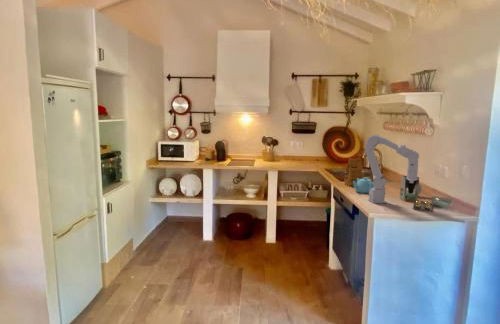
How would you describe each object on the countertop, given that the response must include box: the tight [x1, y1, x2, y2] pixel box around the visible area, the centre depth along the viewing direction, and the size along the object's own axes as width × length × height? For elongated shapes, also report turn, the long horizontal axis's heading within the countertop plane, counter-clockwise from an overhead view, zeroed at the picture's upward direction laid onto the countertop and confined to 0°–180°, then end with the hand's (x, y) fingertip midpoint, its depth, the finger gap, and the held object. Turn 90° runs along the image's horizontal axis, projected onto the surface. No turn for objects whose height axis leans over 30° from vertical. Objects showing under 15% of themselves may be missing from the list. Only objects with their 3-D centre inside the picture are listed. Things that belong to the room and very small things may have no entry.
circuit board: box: [404, 188, 418, 198], centre depth 205 cm, size 10×7×4 cm
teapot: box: [353, 177, 374, 195], centre depth 243 cm, size 15×15×11 cm
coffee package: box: [344, 157, 363, 187], centre depth 264 cm, size 10×12×22 cm
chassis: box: [412, 198, 433, 212], centre depth 203 cm, size 13×10×4 cm
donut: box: [418, 183, 423, 196], centre depth 232 cm, size 10×4×10 cm, turn 88°
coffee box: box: [399, 175, 420, 202], centre depth 221 cm, size 9×6×16 cm
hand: (410, 192), depth 205 cm, fingers closed on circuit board, 4 cm apart
